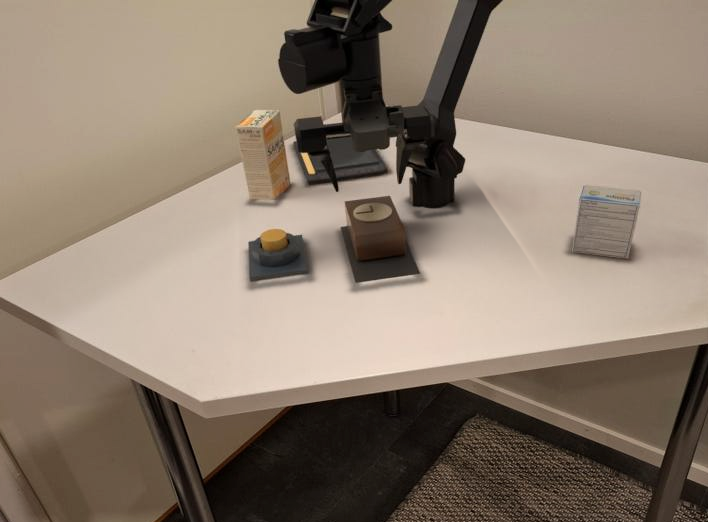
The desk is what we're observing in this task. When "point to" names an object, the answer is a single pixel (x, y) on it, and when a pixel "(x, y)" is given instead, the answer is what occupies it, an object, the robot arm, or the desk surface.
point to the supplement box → (263, 154)
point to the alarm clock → (375, 228)
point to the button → (274, 240)
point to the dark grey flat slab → (379, 263)
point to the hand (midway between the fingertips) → (368, 186)
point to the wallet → (342, 162)
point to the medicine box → (606, 221)
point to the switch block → (277, 259)
